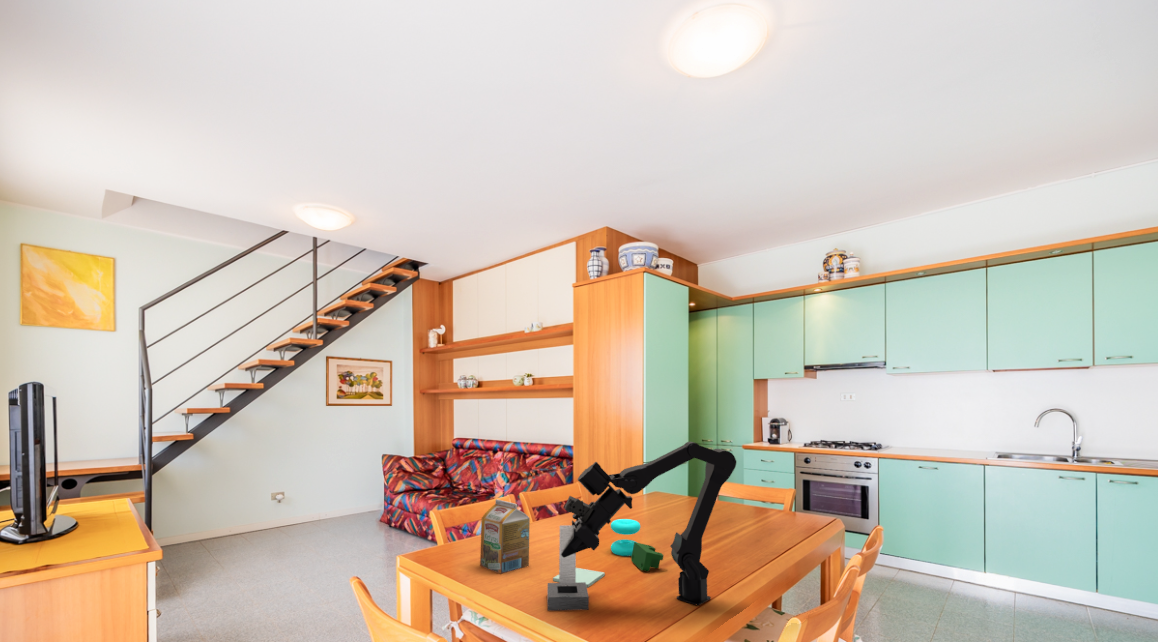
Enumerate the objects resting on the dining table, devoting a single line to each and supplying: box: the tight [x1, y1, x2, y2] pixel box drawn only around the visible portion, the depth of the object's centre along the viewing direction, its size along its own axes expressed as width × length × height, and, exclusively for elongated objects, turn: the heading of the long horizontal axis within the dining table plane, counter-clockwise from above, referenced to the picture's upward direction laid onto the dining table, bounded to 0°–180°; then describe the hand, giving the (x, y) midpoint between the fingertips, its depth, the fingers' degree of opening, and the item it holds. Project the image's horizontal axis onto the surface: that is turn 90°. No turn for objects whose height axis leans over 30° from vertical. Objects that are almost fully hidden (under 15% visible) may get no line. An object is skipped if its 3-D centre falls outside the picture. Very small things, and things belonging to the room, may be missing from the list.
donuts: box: [610, 518, 641, 557], centre depth 176 cm, size 10×10×10 cm
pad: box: [552, 567, 606, 589], centre depth 150 cm, size 11×11×1 cm
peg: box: [558, 524, 577, 584], centre depth 134 cm, size 4×4×13 cm
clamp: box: [630, 541, 665, 572], centre depth 162 cm, size 12×6×9 cm, turn 7°
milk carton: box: [479, 499, 531, 575], centre depth 162 cm, size 11×11×19 cm
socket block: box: [546, 582, 590, 612], centre depth 133 cm, size 10×10×3 cm
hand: (562, 553), depth 134 cm, fingers closed on peg, 4 cm apart
